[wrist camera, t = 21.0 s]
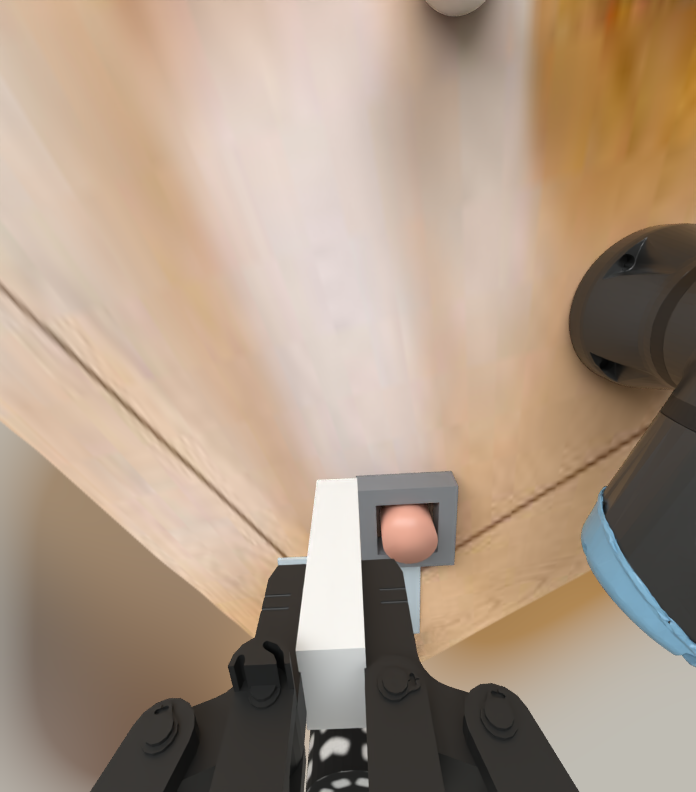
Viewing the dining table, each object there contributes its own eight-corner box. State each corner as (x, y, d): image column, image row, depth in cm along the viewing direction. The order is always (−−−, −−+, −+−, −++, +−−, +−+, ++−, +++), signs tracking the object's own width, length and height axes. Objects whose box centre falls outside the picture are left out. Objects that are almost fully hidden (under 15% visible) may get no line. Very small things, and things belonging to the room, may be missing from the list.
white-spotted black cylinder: (370, 626, 53) (383, 832, 34) (312, 612, 52) (293, 816, 33) (392, 583, 50) (419, 781, 32) (331, 566, 49) (322, 762, 31)
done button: (430, 493, 45) (438, 518, 41) (429, 534, 47) (437, 562, 43) (378, 495, 45) (382, 521, 41) (380, 536, 48) (383, 565, 43)
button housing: (451, 471, 45) (458, 486, 42) (447, 546, 49) (454, 565, 46) (356, 476, 45) (356, 491, 42) (360, 550, 49) (361, 569, 46)
